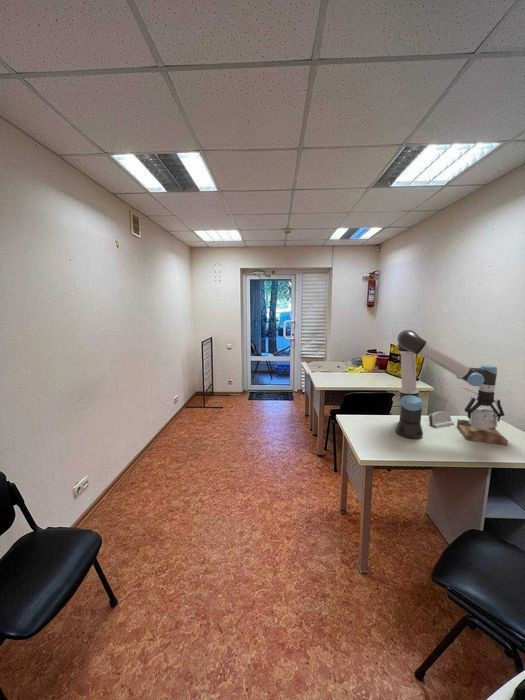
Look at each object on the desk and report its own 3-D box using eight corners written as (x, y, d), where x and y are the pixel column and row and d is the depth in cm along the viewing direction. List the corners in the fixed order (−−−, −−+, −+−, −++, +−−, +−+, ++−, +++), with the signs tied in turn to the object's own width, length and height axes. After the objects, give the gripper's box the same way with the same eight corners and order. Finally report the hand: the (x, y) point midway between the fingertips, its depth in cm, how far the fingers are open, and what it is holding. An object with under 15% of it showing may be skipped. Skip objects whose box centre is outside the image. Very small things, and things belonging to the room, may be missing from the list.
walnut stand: (465, 439, 164) (466, 430, 163) (456, 427, 180) (457, 419, 180) (507, 445, 157) (508, 435, 156) (493, 432, 173) (494, 423, 172)
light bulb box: (483, 423, 171) (485, 407, 170) (494, 428, 165) (496, 411, 163) (470, 425, 168) (472, 409, 167) (481, 430, 162) (483, 413, 160)
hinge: (435, 428, 179) (432, 413, 181) (429, 428, 184) (426, 413, 185) (454, 425, 184) (451, 410, 186) (448, 424, 189) (444, 410, 190)
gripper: (464, 390, 164) (460, 424, 167) (514, 394, 156) (510, 430, 159) (460, 387, 171) (457, 419, 174) (508, 390, 162) (504, 425, 166)
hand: (482, 424), depth 166 cm, fingers closed on light bulb box, 12 cm apart
